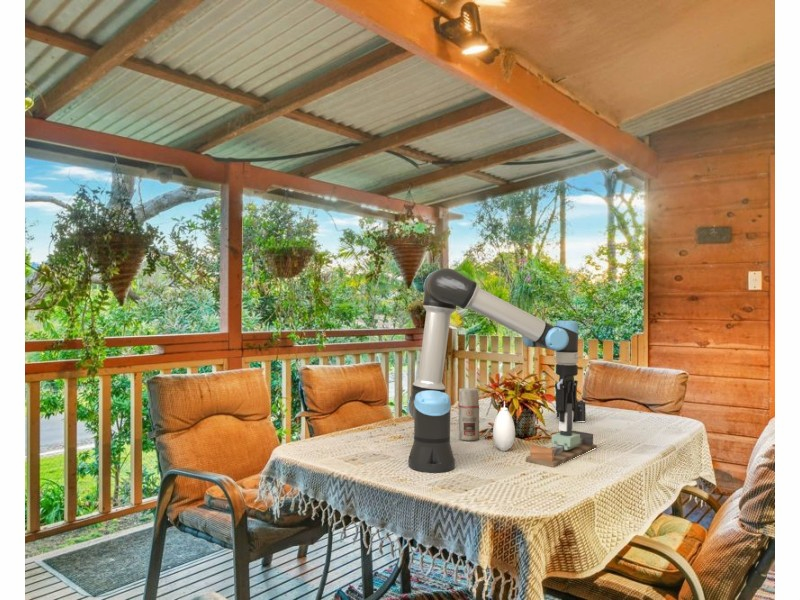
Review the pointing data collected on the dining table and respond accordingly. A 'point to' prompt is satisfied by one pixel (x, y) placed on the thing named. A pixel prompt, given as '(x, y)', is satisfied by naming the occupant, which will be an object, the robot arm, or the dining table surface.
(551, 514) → the dining table surface
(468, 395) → the spray can
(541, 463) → the rail bed
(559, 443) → the green base with post
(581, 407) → the camera
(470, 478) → the dining table surface
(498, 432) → the white air blower bulb
